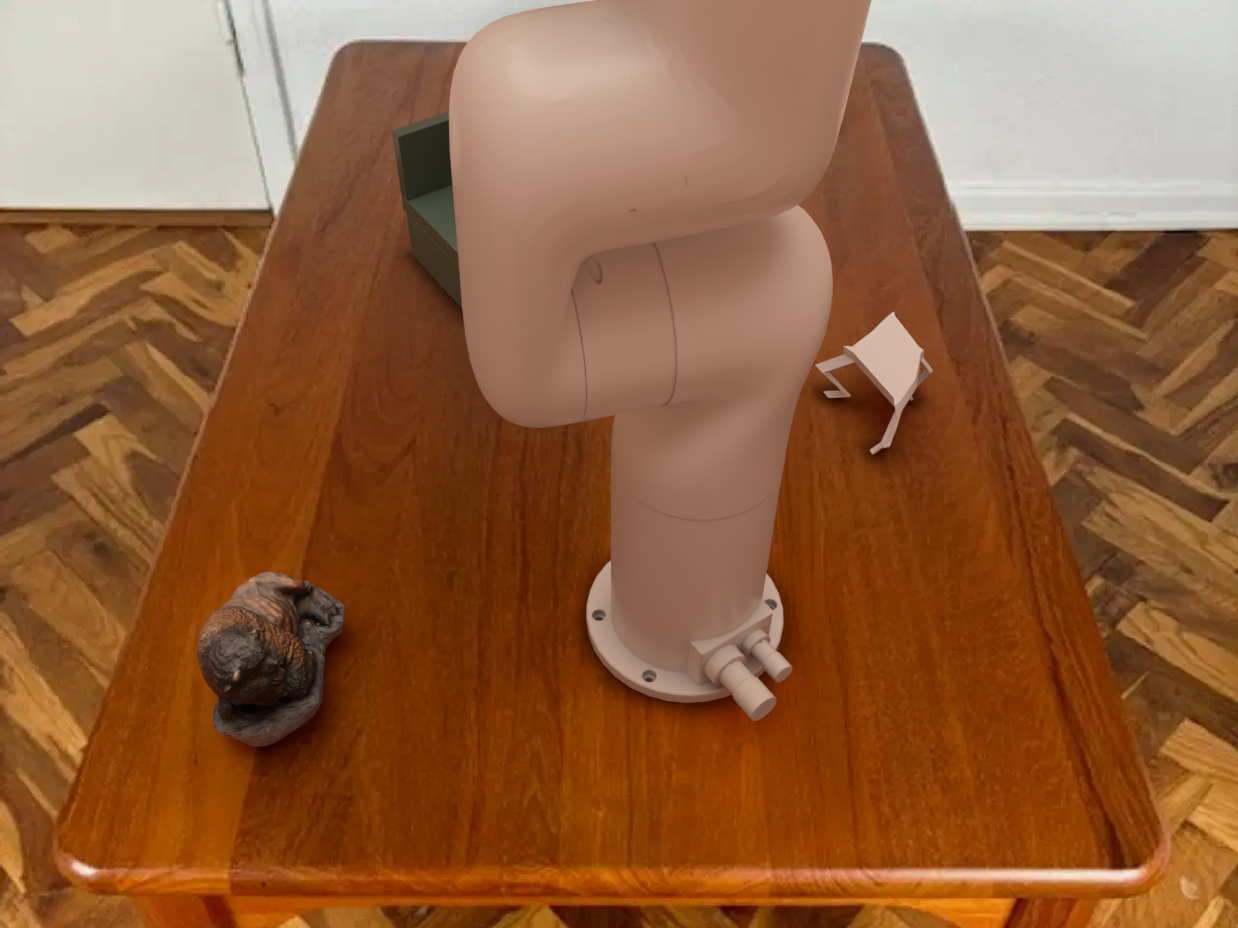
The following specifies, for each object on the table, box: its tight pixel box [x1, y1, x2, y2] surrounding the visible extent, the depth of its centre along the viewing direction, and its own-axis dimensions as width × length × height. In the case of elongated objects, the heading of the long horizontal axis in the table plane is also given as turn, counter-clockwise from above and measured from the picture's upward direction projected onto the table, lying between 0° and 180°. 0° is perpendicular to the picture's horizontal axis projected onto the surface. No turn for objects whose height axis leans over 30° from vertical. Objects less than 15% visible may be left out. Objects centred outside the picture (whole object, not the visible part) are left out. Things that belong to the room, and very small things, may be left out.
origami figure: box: [814, 311, 934, 455], centre depth 89 cm, size 12×8×5 cm
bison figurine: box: [196, 571, 346, 748], centre depth 70 cm, size 12×7×10 cm, turn 2°
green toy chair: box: [391, 110, 462, 309], centre depth 98 cm, size 11×11×12 cm
